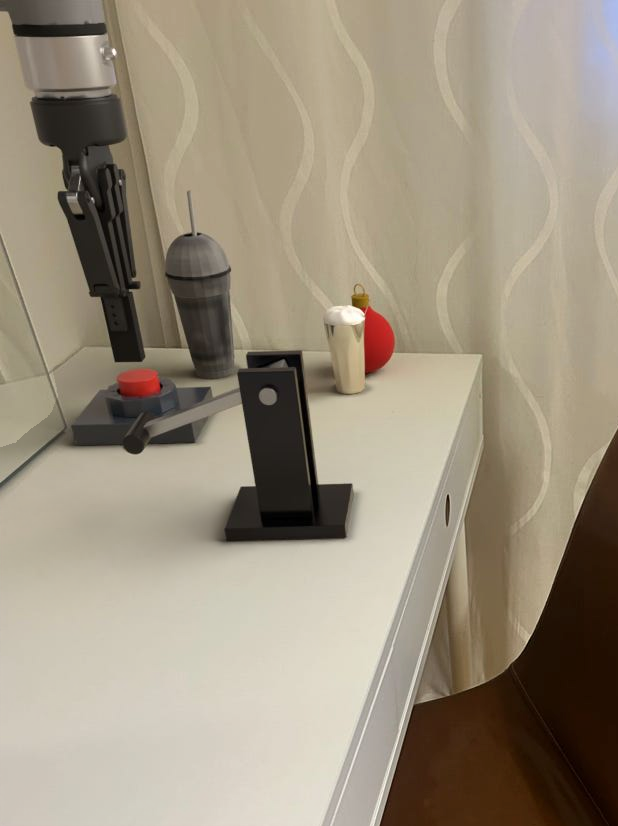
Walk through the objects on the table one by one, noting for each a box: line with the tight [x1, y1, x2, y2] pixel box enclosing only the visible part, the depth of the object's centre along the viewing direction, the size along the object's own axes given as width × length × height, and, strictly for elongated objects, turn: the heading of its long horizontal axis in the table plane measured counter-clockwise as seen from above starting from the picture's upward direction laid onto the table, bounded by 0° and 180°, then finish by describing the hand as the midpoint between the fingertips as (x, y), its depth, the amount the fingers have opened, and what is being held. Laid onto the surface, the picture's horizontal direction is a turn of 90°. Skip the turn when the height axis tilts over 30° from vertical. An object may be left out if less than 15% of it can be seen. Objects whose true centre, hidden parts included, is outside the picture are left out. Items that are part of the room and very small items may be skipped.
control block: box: [70, 376, 214, 447], centre depth 101 cm, size 12×10×4 cm
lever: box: [121, 359, 288, 455], centre depth 78 cm, size 14×5×2 cm, turn 92°
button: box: [116, 368, 161, 397], centre depth 99 cm, size 4×4×2 cm
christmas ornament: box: [350, 283, 396, 374], centre depth 112 cm, size 7×7×10 cm
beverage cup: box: [164, 190, 236, 380], centre depth 109 cm, size 7×7×20 cm
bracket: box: [223, 349, 355, 542], centre depth 80 cm, size 10×8×14 cm
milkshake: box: [322, 298, 371, 395], centre depth 107 cm, size 4×5×10 cm
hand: (130, 359), depth 98 cm, fingers closed
